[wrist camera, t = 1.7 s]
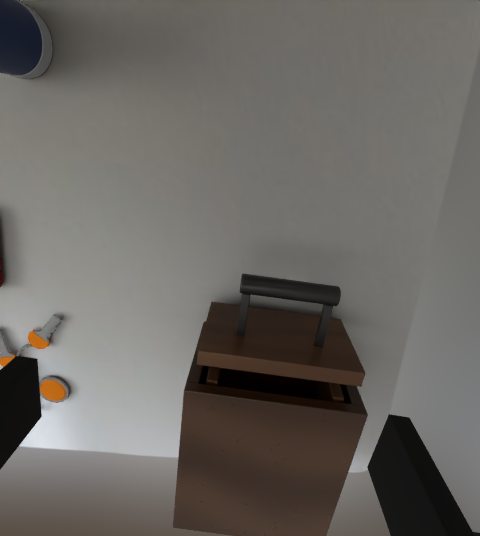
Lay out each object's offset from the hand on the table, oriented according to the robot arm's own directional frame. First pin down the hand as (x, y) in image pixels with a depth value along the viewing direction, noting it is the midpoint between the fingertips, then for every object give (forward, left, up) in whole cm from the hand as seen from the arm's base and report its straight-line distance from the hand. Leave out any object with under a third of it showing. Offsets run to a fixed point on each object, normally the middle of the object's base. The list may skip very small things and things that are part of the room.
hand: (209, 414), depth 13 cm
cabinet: (+8, +13, -18) cm, 23 cm away
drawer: (+3, +9, -17) cm, 19 cm away
